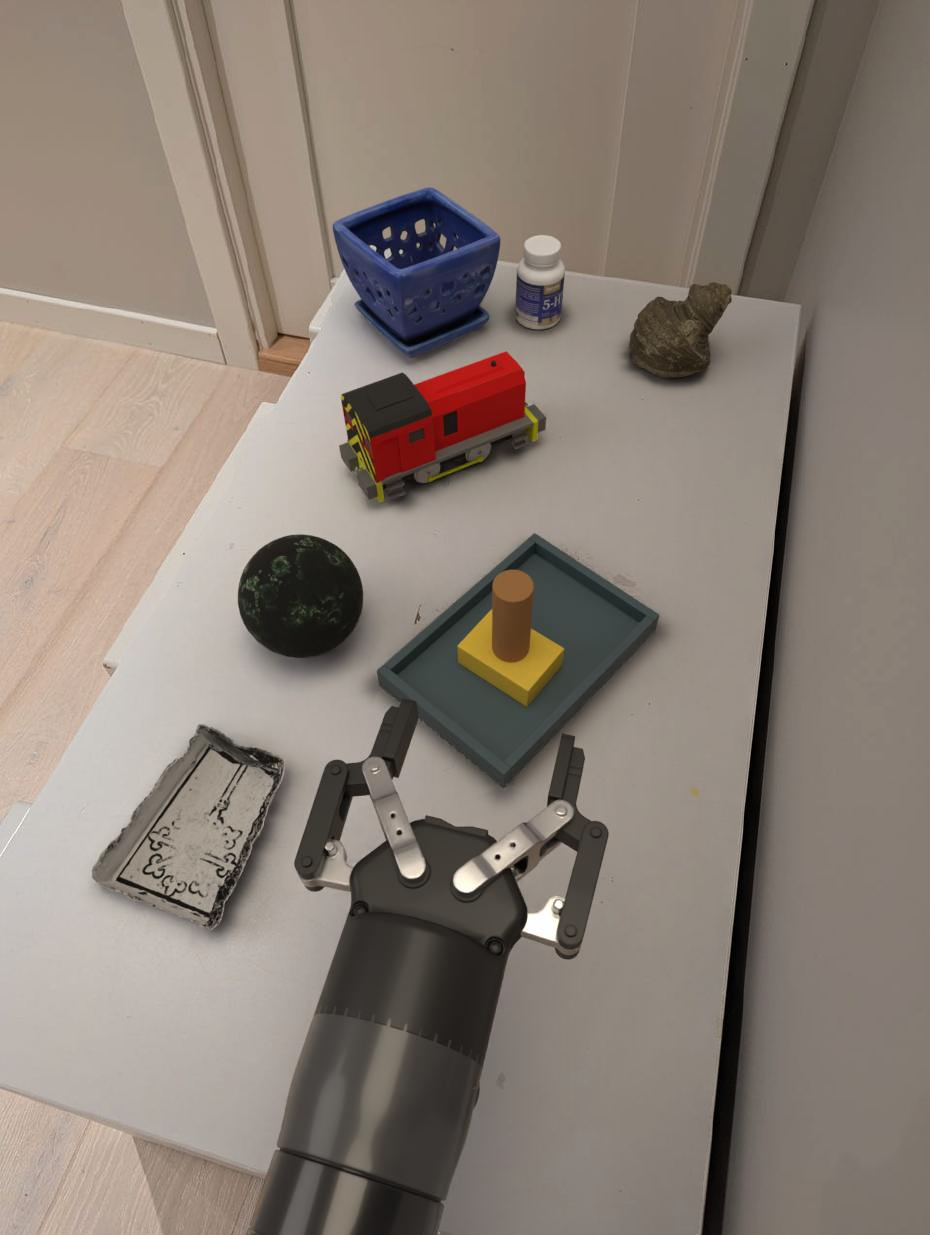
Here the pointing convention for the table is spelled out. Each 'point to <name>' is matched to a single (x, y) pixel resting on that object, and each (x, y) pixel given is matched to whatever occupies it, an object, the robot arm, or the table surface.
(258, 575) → the decorative stone
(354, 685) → the table surface
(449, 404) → the toy train
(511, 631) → the stamp with peg handle
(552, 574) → the tray
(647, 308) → the seashell
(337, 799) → the robot arm
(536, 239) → the pill bottle
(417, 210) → the flower pot
